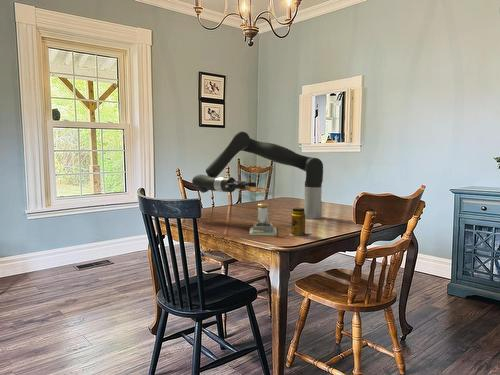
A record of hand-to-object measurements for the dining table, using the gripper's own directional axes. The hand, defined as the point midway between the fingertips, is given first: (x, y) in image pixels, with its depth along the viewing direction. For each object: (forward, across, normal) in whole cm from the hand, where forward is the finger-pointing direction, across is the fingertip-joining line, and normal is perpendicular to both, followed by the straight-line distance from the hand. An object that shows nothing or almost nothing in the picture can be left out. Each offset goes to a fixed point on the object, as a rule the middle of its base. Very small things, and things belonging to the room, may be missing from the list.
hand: (250, 185), depth 183 cm
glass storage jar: (+11, -6, +20) cm, 23 cm away
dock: (+11, -6, +20) cm, 24 cm away
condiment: (+26, 0, +21) cm, 34 cm away
